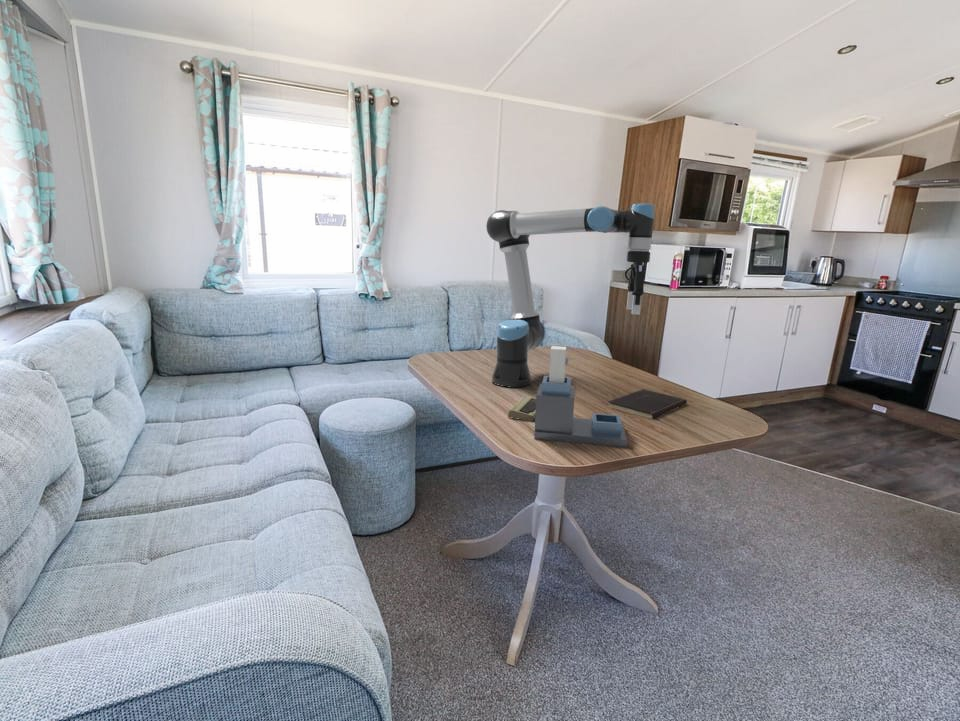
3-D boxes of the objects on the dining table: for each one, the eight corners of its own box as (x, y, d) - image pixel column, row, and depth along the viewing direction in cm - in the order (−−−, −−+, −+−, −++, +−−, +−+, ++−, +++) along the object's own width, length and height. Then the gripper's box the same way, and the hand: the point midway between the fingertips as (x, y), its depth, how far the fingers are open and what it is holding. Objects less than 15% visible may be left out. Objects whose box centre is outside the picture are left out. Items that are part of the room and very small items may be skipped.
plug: (548, 391, 133) (550, 348, 130) (549, 387, 136) (551, 346, 134) (566, 393, 132) (568, 349, 129) (566, 389, 135) (569, 347, 133)
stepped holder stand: (534, 438, 131) (536, 385, 128) (538, 421, 144) (540, 372, 141) (626, 447, 126) (631, 392, 123) (621, 428, 140) (626, 378, 136)
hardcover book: (607, 408, 159) (607, 401, 158) (642, 395, 174) (643, 389, 174) (652, 421, 148) (653, 414, 147) (686, 406, 163) (687, 399, 162)
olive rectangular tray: (533, 422, 144) (533, 412, 144) (507, 419, 147) (507, 408, 147) (546, 407, 159) (546, 397, 158) (522, 404, 162) (522, 395, 161)
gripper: (657, 251, 155) (650, 317, 160) (644, 250, 179) (638, 308, 184) (632, 250, 156) (626, 316, 161) (623, 250, 180) (618, 307, 185)
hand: (632, 311), depth 172 cm, fingers open, 13 cm apart
